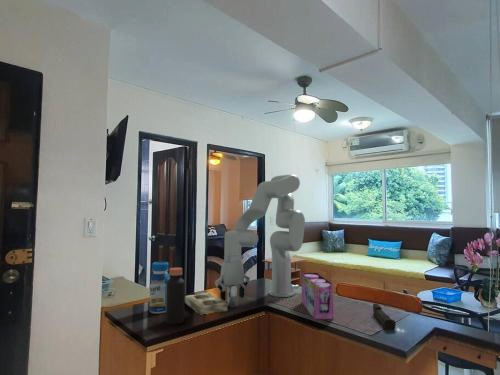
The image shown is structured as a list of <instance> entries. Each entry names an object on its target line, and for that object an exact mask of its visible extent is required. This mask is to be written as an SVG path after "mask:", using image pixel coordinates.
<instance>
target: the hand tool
mask: <svg viewBox="0 0 500 375" xmlns="http://www.w3.org/2000/svg"><path fill="white" fill-rule="evenodd" d="M372 310H373V315H374V317H375V318H376V319H378V321H380V323H381V324H382V325H383V328H384V330H385V331H394V330H395V329H396V324H397V323H396V322H397V321H395V320H394V319H393V318H391V317H390V316H389V315H388V314H386V313H385V312H384V311H383V309H382V306H381V305H380V304H378V303H373V304H372Z"/></svg>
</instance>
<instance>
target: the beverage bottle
mask: <svg viewBox="0 0 500 375" xmlns="http://www.w3.org/2000/svg"><path fill="white" fill-rule="evenodd" d="M151 271H152V272H153V273H152V274H151V275H150V279H149V281H150V284H149V308H148V309H149V313H151V314H164V313H166V296H167V281H168V280H169V279H170V276H169V272H168V271H169V262H168V261H154V262H152V263H151Z"/></svg>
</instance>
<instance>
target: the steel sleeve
mask: <svg viewBox="0 0 500 375" xmlns="http://www.w3.org/2000/svg"><path fill="white" fill-rule="evenodd" d="M238 286H239V285H231V286H227V308H237V307H238V306H239V301H238V300H239V297H238V296H239V288H238Z"/></svg>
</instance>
